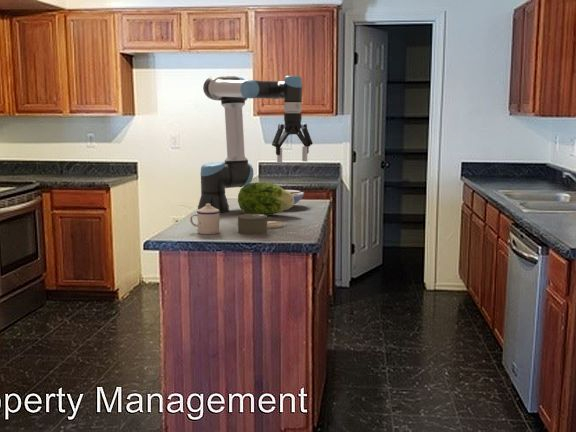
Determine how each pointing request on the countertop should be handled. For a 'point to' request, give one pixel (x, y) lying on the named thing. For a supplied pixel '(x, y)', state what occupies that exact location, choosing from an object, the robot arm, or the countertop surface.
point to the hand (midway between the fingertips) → (292, 162)
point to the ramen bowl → (296, 195)
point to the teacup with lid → (207, 220)
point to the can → (252, 224)
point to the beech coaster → (274, 224)
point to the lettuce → (264, 199)
